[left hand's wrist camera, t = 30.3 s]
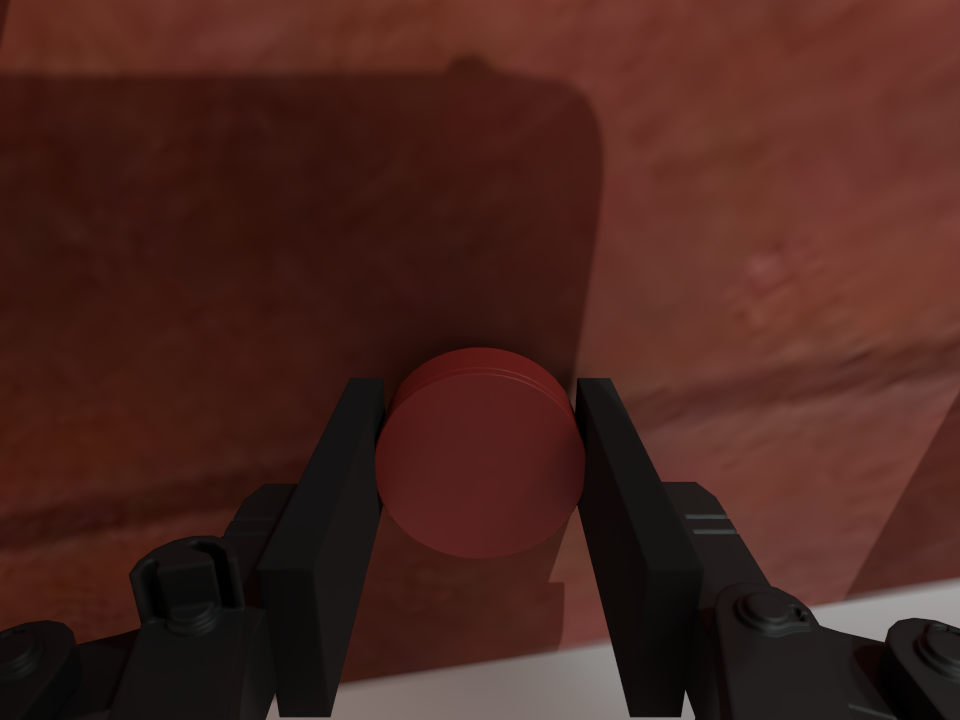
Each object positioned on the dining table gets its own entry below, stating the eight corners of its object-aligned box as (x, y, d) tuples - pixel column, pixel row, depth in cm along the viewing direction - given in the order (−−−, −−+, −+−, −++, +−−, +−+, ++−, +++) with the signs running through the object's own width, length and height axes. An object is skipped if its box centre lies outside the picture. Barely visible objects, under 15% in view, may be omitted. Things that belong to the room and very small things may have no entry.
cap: (362, 488, 15) (349, 527, 14) (415, 319, 14) (407, 344, 12) (536, 537, 16) (542, 581, 14) (606, 381, 14) (621, 411, 13)
